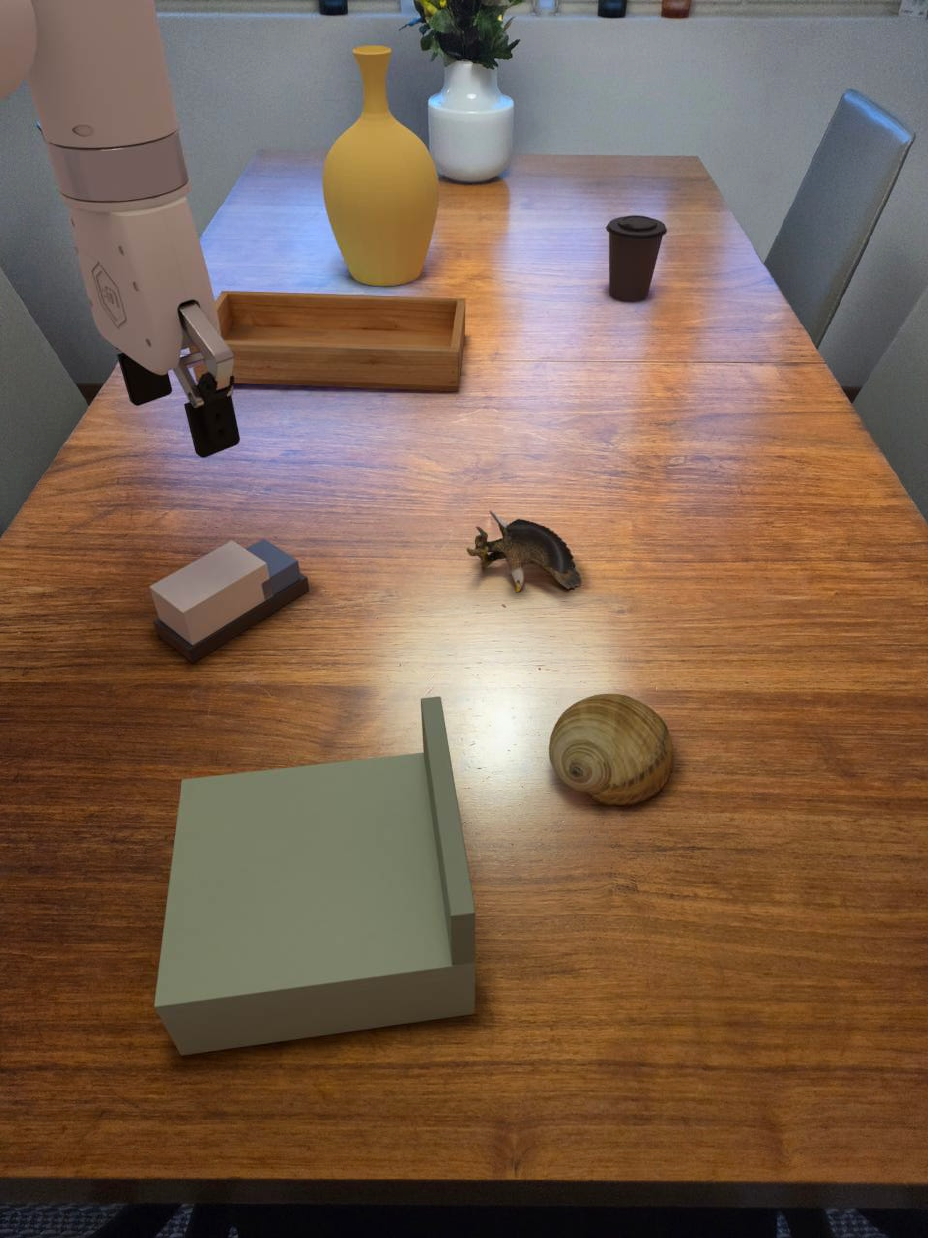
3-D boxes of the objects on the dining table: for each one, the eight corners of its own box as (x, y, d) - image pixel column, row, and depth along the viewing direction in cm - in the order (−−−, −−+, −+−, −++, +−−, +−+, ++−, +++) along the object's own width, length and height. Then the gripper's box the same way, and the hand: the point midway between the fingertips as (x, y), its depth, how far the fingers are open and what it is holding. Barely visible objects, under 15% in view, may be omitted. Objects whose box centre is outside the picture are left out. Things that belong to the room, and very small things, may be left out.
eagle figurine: (468, 598, 73) (575, 595, 71) (463, 512, 72) (572, 506, 70) (488, 587, 80) (587, 584, 78) (484, 509, 79) (583, 503, 77)
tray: (465, 337, 112) (465, 293, 109) (459, 394, 101) (458, 347, 97) (229, 333, 114) (221, 289, 110) (197, 388, 102) (187, 342, 99)
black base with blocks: (193, 664, 69) (178, 617, 66) (157, 635, 71) (141, 588, 68) (309, 590, 76) (302, 544, 72) (272, 566, 78) (264, 520, 75)
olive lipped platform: (180, 1056, 47) (126, 958, 40) (202, 835, 57) (162, 725, 50) (474, 1014, 49) (475, 913, 41) (444, 806, 59) (440, 695, 51)
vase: (312, 286, 125) (284, 57, 106) (357, 247, 136) (339, 34, 117) (418, 300, 121) (408, 64, 102) (455, 259, 132) (453, 40, 114)
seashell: (622, 763, 67) (574, 674, 65) (705, 747, 62) (656, 651, 61) (570, 843, 59) (515, 745, 58) (661, 831, 55) (603, 724, 53)
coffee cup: (597, 303, 120) (604, 228, 113) (601, 281, 126) (608, 207, 119) (657, 307, 119) (668, 231, 112) (658, 285, 125) (668, 211, 118)
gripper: (2, 148, 55) (83, 397, 66) (128, 216, 45) (197, 493, 57) (115, 127, 58) (173, 366, 70) (253, 186, 49) (294, 451, 60)
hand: (184, 423), depth 63 cm, fingers open, 9 cm apart
